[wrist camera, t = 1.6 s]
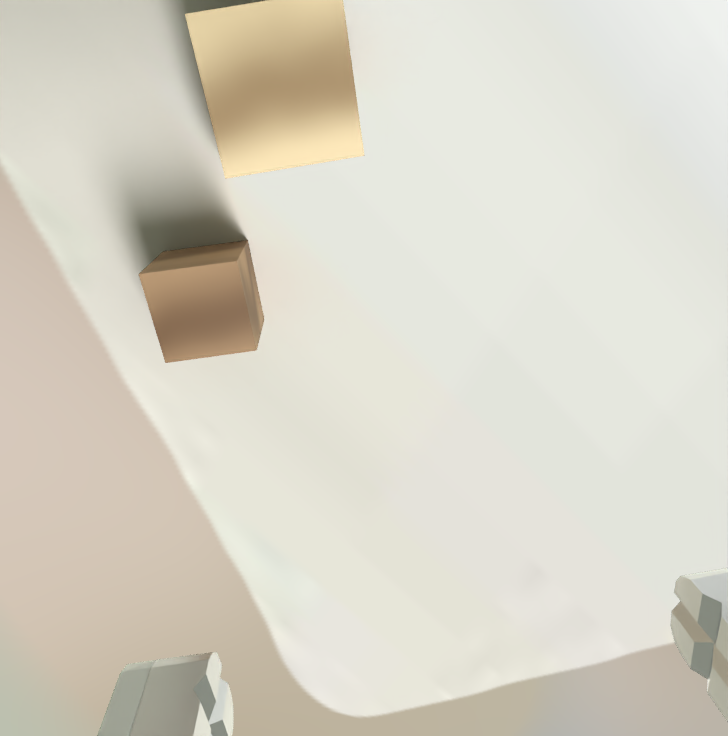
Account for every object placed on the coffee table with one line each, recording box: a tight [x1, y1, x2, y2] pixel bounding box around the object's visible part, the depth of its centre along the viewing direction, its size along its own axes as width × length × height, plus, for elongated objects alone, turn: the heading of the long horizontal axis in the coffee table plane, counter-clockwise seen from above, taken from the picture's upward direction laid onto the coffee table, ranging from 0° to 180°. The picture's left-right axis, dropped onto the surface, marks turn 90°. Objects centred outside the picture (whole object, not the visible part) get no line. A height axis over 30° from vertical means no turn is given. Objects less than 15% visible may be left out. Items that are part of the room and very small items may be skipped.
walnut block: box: [139, 240, 264, 363], centre depth 31 cm, size 5×5×5 cm
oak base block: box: [185, 0, 364, 179], centre depth 28 cm, size 7×7×4 cm
